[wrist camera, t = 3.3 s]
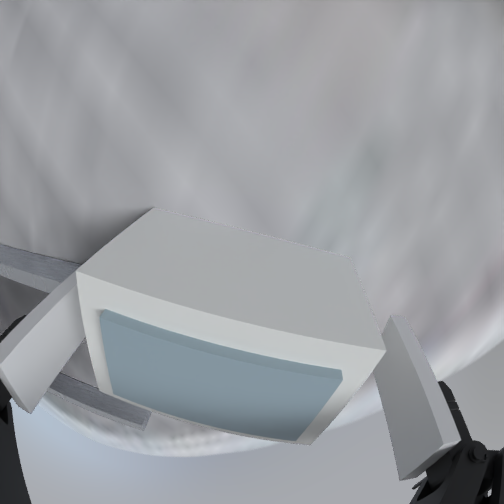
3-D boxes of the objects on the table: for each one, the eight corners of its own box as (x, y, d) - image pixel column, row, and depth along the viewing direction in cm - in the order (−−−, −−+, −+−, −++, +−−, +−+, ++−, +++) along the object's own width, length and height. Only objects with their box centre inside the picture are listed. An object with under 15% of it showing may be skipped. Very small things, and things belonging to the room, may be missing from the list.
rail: (-47, 230, 15) (-82, 254, 10) (123, 273, 14) (72, 334, 9) (-7, 341, 21) (-30, 368, 16) (151, 412, 20) (132, 461, 15)
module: (155, 206, 12) (67, 277, 7) (349, 256, 12) (389, 360, 7) (148, 309, 15) (95, 397, 9) (306, 350, 15) (310, 453, 9)
